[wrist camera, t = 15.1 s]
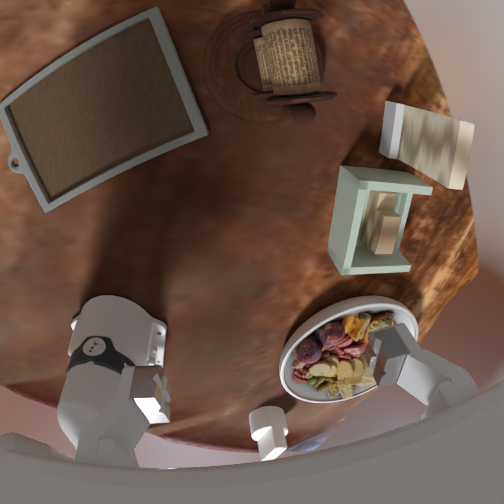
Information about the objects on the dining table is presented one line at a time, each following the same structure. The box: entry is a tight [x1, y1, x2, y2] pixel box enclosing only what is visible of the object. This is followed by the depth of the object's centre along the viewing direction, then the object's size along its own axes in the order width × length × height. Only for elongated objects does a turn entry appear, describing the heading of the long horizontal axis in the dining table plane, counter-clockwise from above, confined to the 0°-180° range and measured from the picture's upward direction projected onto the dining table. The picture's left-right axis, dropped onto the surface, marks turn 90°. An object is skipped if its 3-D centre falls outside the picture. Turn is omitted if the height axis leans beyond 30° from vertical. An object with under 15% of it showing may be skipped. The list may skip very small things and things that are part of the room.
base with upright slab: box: [249, 406, 288, 461], centre depth 69 cm, size 9×9×12 cm
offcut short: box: [368, 209, 402, 254], centre depth 44 cm, size 6×3×2 cm, turn 177°
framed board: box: [0, 7, 209, 213], centre depth 35 cm, size 19×2×30 cm
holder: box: [379, 101, 428, 159], centre depth 40 cm, size 8×6×3 cm
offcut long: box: [360, 190, 397, 249], centre depth 45 cm, size 9×3×3 cm, turn 177°
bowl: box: [279, 296, 418, 403], centre depth 60 cm, size 30×30×8 cm
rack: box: [327, 165, 433, 275], centre depth 45 cm, size 14×12×7 cm
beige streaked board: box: [397, 105, 475, 190], centre depth 35 cm, size 8×2×14 cm, turn 178°
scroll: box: [203, 0, 337, 125], centre depth 27 cm, size 15×15×20 cm
